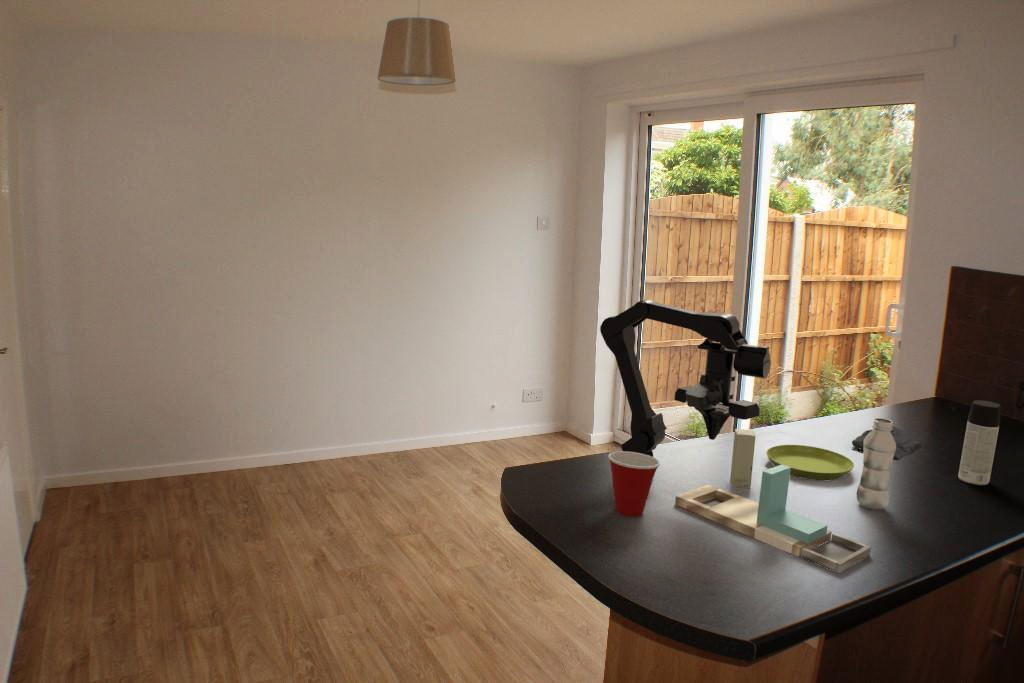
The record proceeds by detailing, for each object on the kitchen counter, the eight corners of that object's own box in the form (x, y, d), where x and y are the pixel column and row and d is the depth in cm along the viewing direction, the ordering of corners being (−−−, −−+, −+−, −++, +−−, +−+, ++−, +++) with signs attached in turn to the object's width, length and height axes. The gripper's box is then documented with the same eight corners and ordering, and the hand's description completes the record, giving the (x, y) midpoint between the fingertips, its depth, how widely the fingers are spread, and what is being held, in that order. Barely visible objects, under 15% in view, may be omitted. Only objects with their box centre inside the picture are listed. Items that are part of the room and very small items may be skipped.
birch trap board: (675, 504, 161) (675, 495, 160) (708, 492, 168) (709, 484, 168) (838, 573, 133) (840, 563, 133) (869, 555, 141) (871, 546, 140)
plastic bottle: (874, 515, 160) (887, 426, 156) (848, 503, 166) (860, 417, 162) (894, 510, 163) (907, 423, 159) (867, 499, 169) (879, 415, 165)
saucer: (798, 451, 202) (799, 440, 201) (869, 476, 185) (871, 464, 184) (748, 463, 190) (749, 451, 190) (819, 490, 174) (820, 478, 173)
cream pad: (754, 537, 146) (755, 528, 146) (786, 523, 154) (787, 514, 153) (791, 553, 140) (792, 544, 140) (823, 537, 148) (824, 528, 147)
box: (750, 489, 172) (756, 436, 169) (731, 487, 172) (736, 434, 170) (748, 481, 177) (753, 429, 174) (729, 479, 178) (734, 427, 175)
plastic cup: (666, 512, 156) (670, 458, 154) (636, 526, 149) (640, 470, 147) (624, 496, 164) (628, 445, 162) (593, 509, 156) (597, 455, 154)
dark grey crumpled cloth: (840, 448, 207) (842, 432, 206) (868, 433, 222) (870, 418, 221) (899, 463, 196) (901, 446, 195) (924, 446, 212) (926, 430, 211)
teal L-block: (756, 523, 148) (762, 471, 146) (775, 514, 153) (781, 464, 151) (807, 544, 140) (815, 489, 138) (826, 534, 145) (833, 481, 142)
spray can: (991, 481, 184) (1005, 403, 181) (985, 488, 179) (999, 408, 176) (961, 473, 189) (974, 398, 185) (954, 480, 184) (967, 402, 180)
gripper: (661, 366, 164) (656, 434, 167) (733, 384, 150) (726, 457, 153) (692, 361, 171) (686, 426, 174) (764, 378, 157) (756, 448, 160)
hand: (712, 439), depth 165 cm, fingers closed
